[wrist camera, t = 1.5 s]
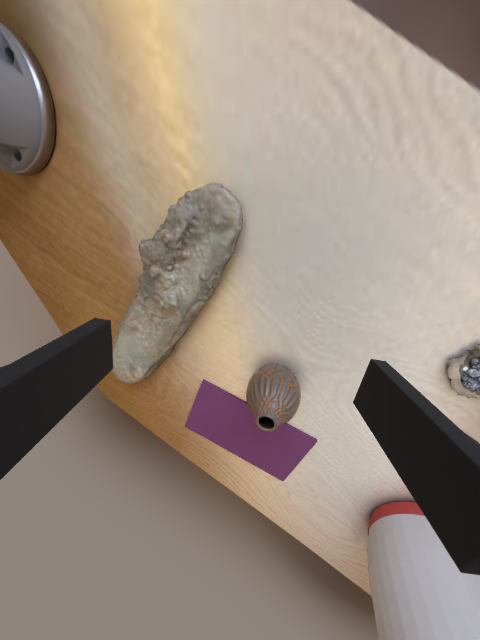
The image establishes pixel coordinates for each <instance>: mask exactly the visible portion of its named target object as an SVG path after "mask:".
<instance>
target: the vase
mask: <svg viewBox="0 0 480 640" xmlns="http://www.w3.org/2000/svg"><path fill="white" fill-rule="evenodd" d="M246 396H247V404H248V408H249V410H250V412H251V413H252V415H253V416H254V418H255V421H256V424H257V426H258V427H259V428H260V429H261V430H263V431H267V432H271V431H274V430H275V429H276V428H277V427H278V426H280V425H282V424H285V423H286V422H288V421H289V420H290V419H291V418H292V417H293V416H294V415H295V413H296V411H297V409H298V407H299V404H300V397H301V392H300V386H299V383H298V380H297V378H296V377H295V375H294V374H293V373H292V372H291V371H290V370H289V369H288V368H286V367H284V366H282V365H278V364H269V365H265V366H263V367H261V368H260V369H258V370H257V371H256V372H255V373H254V374H253V376H252V377H251V379H250V381H249V384H248V387H247V394H246Z"/></svg>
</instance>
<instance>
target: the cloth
mask: <svg viewBox="0 0 480 640" xmlns="http://www.w3.org/2000/svg"><path fill="white" fill-rule="evenodd" d="M185 427H187V428H189V429H191V430H192V431H194V432H196V433H198V434H200V435H201V436H203V437H205V438H207V439H208V440H210V441H212V442H214V443H216V444H217V445H219V446H221V447H223V448H225V449H226V450H228V451H230V452H232V453H233V454H235V455H237V456H239V457H241V458H242V459H244V460H246V461H248V462H249V463H251V464H253V465H255V466H257V467H258V468H260V469H262V470H264V471H265V472H267V473H269V474H271V475H273V476H274V477H276V478H278V479H280V480H282V481H284V480H285V479H286V477H287V476H288V475H289V474H290V473H291V472H292V470H293V469H294V468H295V467H296V466H297V465H298V463H299V462H300V461H301V460H302V459H303V457H304V456H305V455H306V454H307V453H308V452H309V450H310V449H311V448H312V447H313V446H314V445H315V443H316V442H317V439H315V438H313V437H311V436H309V435H307V434H305V433H303V432H302V431H300V430H298V429H296V428H294V427H292V426H290V425H288V424H286V423H285V424H282V425H280V426H278V427H277V428H276V429H275V430H274V431H271V432H267V431H263V430H261V429H260V428H259V427H258V426H257V424H256V421H255V418H254V416H253V415H252V413H251V412H250V410H249V408H248V404H247V402H245V401H243V400H241V399H239V398H237V397H235V396H234V395H232V394H230V393H228V392H226V391H224V390H222V389H220V388H218V387H217V386H215V385H213V384H211V383H209V382H207V381H205V380H203V381H202V384H201V386H200V389H199V391H198V394H197V396H196V399H195V402H194V404H193V407H192V409H191V412H190V415H189V417H188V420H187V422H186V425H185Z"/></svg>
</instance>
